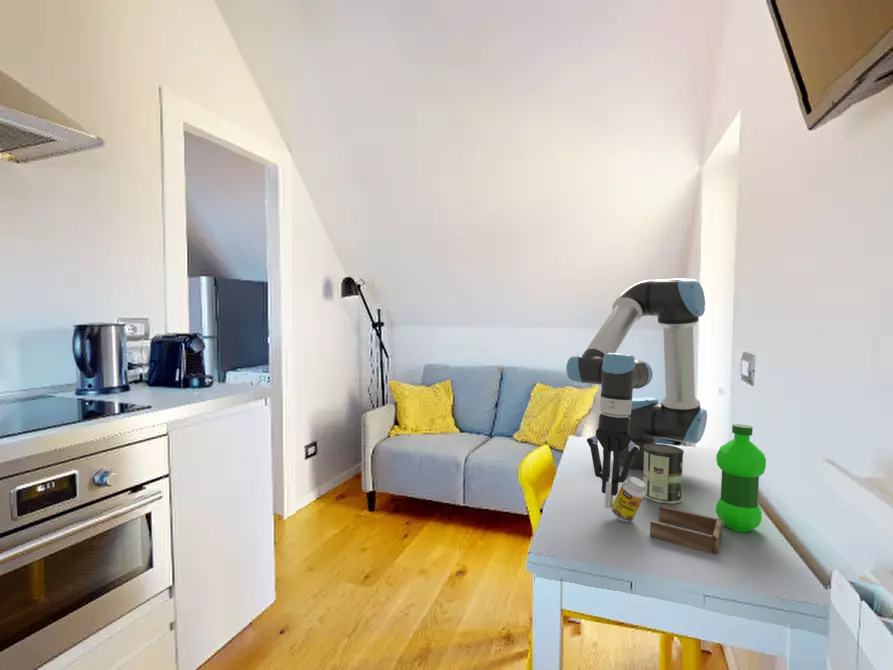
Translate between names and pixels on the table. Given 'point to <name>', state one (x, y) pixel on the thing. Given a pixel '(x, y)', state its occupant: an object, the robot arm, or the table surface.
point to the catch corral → (686, 535)
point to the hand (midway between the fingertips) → (608, 506)
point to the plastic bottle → (740, 481)
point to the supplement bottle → (629, 499)
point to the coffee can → (663, 473)
